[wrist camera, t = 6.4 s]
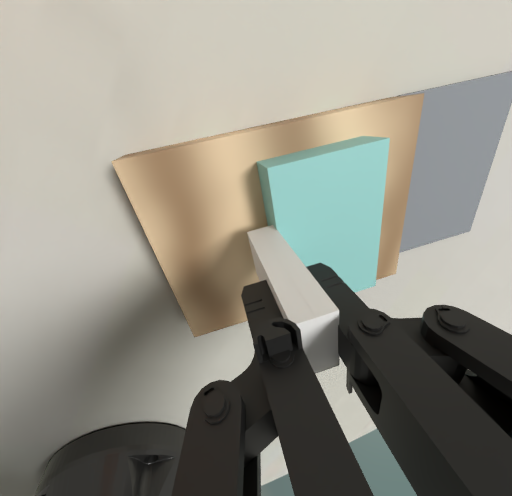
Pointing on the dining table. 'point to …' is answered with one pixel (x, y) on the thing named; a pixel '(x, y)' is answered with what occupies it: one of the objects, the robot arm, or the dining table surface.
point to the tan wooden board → (250, 199)
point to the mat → (454, 156)
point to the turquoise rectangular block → (330, 204)
